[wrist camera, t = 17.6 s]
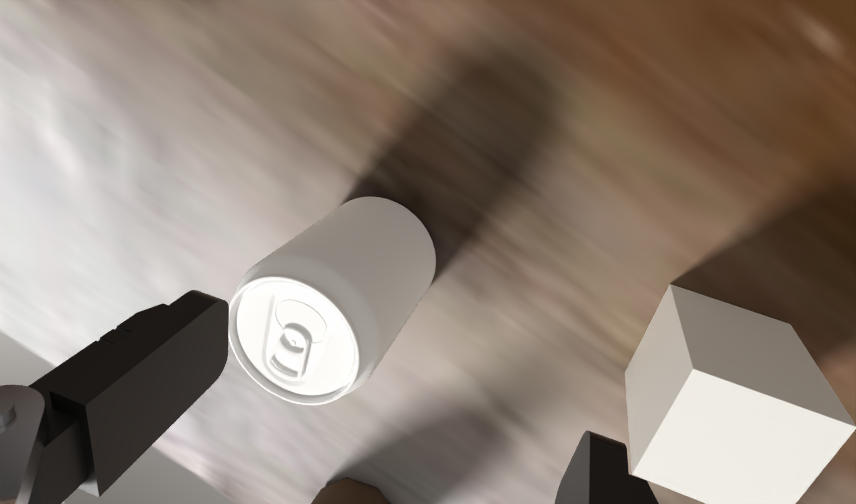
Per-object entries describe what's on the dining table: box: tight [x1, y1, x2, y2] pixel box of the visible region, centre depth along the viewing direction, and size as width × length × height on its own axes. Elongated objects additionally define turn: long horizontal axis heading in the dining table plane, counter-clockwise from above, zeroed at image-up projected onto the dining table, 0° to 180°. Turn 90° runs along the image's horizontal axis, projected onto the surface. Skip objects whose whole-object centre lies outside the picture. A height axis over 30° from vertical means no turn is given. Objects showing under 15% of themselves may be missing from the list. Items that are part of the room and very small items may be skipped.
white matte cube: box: [625, 284, 856, 504], centre depth 28 cm, size 7×7×9 cm
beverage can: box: [228, 197, 436, 405], centre depth 31 cm, size 8×8×12 cm
